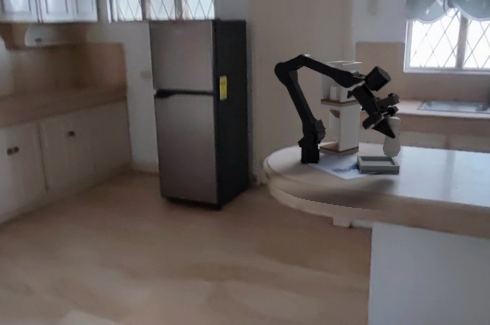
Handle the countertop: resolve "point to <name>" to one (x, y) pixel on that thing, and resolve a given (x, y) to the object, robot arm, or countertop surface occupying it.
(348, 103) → the display case
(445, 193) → the countertop surface
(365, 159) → the tray
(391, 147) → the salt shaker
